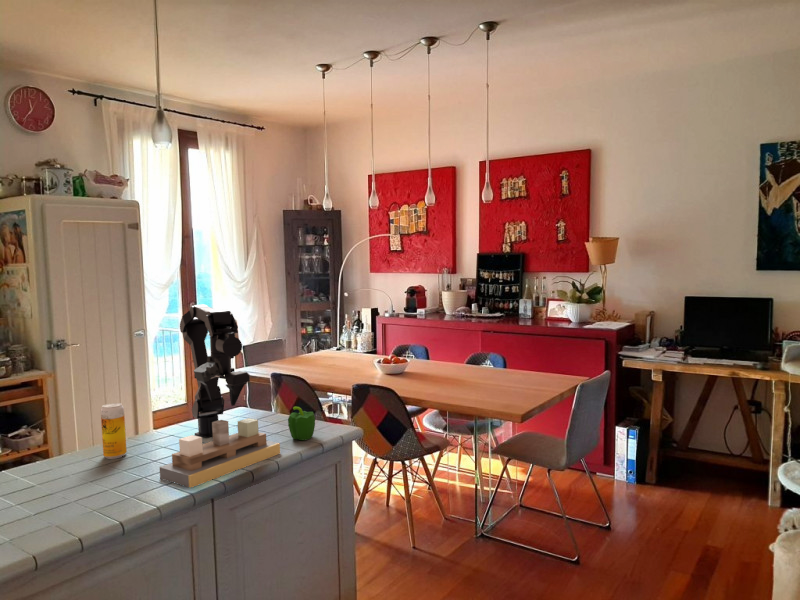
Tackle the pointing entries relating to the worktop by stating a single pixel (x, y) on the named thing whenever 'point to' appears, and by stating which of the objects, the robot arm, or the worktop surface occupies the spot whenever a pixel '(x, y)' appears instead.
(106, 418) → the beer can
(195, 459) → the pallet
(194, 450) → the block
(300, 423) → the bell pepper
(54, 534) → the worktop surface
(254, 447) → the dock
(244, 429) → the pale olive cube
